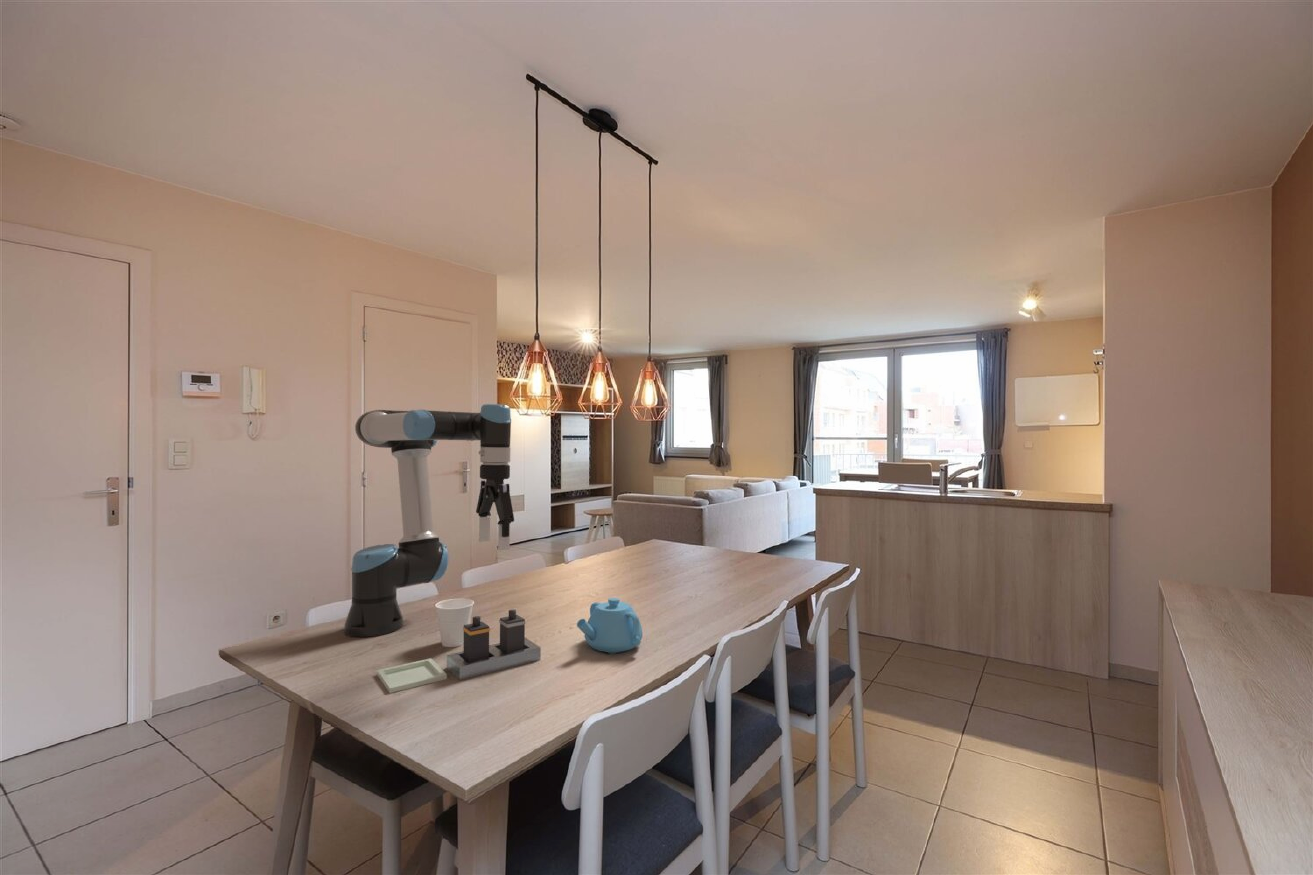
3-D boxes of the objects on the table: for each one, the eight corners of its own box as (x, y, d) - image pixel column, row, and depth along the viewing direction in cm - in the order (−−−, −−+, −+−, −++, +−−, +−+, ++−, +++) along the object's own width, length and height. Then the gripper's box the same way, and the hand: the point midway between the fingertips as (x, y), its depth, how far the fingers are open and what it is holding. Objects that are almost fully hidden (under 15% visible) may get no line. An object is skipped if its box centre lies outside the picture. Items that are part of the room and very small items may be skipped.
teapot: (660, 648, 149) (660, 600, 149) (603, 670, 134) (603, 617, 134) (609, 630, 162) (610, 586, 163) (553, 648, 148) (553, 600, 148)
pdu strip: (446, 669, 134) (446, 654, 134) (524, 650, 146) (524, 637, 146) (459, 682, 127) (459, 666, 127) (540, 661, 139) (540, 647, 139)
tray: (377, 676, 130) (377, 670, 130) (430, 664, 137) (430, 658, 137) (389, 695, 120) (390, 688, 120) (447, 680, 128) (447, 674, 128)
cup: (461, 652, 145) (461, 610, 145) (426, 649, 147) (426, 607, 147) (480, 639, 154) (481, 599, 154) (447, 636, 156) (448, 597, 156)
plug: (462, 667, 134) (463, 616, 134) (482, 662, 137) (482, 613, 137) (469, 673, 130) (470, 621, 131) (489, 668, 133) (489, 617, 133)
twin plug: (499, 658, 140) (499, 609, 140) (516, 654, 143) (517, 606, 143) (506, 664, 136) (507, 614, 136) (524, 659, 139) (525, 611, 139)
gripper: (464, 461, 154) (463, 538, 154) (499, 466, 134) (497, 555, 134) (491, 461, 159) (490, 536, 159) (528, 465, 139) (527, 551, 139)
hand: (493, 545), depth 147 cm, fingers open, 13 cm apart
